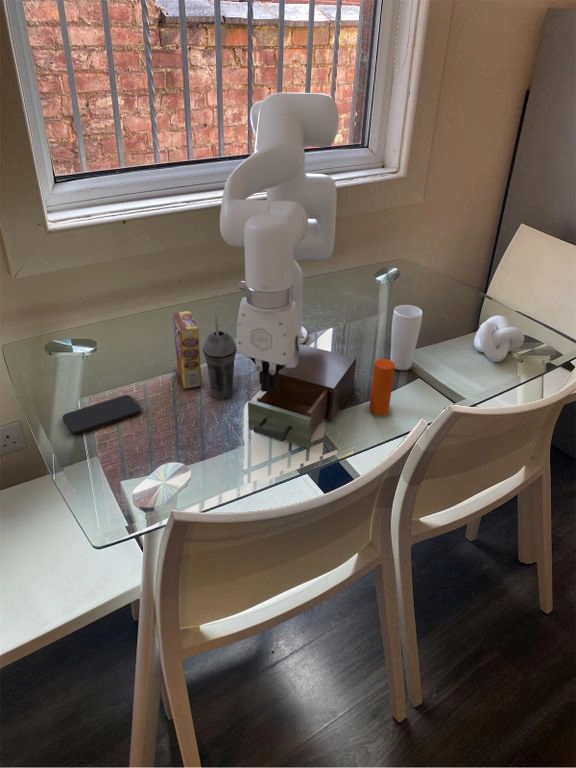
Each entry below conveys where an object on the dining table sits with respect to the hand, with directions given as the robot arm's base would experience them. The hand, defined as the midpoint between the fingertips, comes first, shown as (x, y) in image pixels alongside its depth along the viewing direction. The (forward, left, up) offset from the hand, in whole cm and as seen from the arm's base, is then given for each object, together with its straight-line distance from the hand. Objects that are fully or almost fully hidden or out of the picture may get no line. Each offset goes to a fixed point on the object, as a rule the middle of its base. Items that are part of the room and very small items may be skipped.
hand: (269, 388), depth 107 cm
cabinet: (-2, +25, -18) cm, 31 cm away
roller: (+13, +27, -18) cm, 35 cm away
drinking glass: (+12, +47, -18) cm, 52 cm away
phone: (-39, -2, -18) cm, 43 cm away
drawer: (-2, +11, -17) cm, 20 cm away
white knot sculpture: (+31, +64, -18) cm, 74 cm away
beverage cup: (-21, +17, -18) cm, 32 cm away
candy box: (-31, +19, -18) cm, 40 cm away
